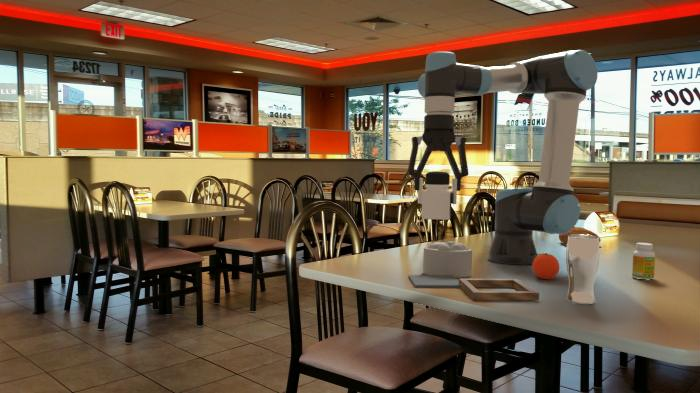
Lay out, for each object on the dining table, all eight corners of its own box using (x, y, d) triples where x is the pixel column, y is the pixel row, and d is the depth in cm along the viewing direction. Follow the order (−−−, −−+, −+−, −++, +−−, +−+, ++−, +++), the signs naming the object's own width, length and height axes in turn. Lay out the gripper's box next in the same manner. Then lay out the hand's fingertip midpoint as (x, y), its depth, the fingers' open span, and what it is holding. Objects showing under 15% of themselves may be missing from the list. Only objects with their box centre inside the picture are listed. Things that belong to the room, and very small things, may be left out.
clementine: (523, 276, 158) (524, 251, 157) (543, 274, 160) (544, 249, 160) (544, 282, 150) (545, 255, 150) (564, 280, 153) (565, 254, 153)
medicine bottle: (450, 220, 143) (451, 172, 142) (421, 219, 144) (422, 171, 143) (450, 217, 150) (452, 171, 149) (423, 216, 151) (424, 171, 150)
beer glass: (558, 297, 134) (561, 234, 132) (587, 297, 134) (590, 234, 133) (572, 305, 127) (575, 238, 126) (603, 305, 127) (606, 238, 126)
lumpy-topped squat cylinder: (431, 268, 168) (431, 239, 167) (475, 272, 163) (476, 242, 162) (420, 274, 159) (421, 243, 158) (466, 279, 153) (467, 247, 153)
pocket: (517, 285, 145) (517, 278, 145) (538, 300, 131) (538, 292, 130) (458, 285, 145) (459, 278, 145) (473, 300, 130) (473, 292, 130)
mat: (452, 277, 154) (452, 275, 154) (463, 287, 142) (463, 285, 142) (408, 277, 154) (408, 275, 154) (415, 287, 142) (415, 285, 142)
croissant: (562, 252, 213) (563, 232, 212) (555, 241, 228) (556, 221, 227) (603, 253, 211) (604, 232, 209) (594, 241, 226) (595, 222, 224)
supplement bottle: (645, 281, 154) (647, 245, 153) (627, 277, 158) (629, 242, 158) (658, 279, 156) (660, 244, 156) (640, 276, 161) (642, 241, 160)
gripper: (476, 116, 149) (473, 202, 151) (396, 114, 149) (394, 201, 150) (483, 114, 142) (480, 205, 143) (400, 112, 141) (398, 204, 143)
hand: (436, 203), depth 147 cm, fingers closed on medicine bottle, 8 cm apart
